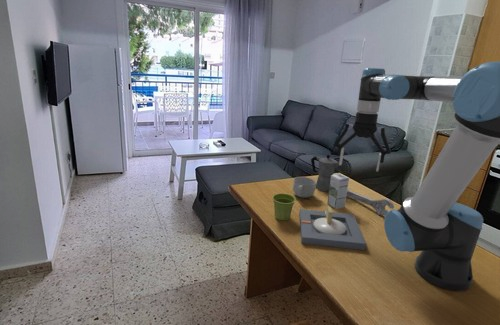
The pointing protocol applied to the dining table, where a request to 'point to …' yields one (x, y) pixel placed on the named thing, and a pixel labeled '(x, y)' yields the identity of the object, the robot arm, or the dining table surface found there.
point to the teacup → (304, 187)
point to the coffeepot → (324, 171)
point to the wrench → (372, 202)
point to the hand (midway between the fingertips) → (358, 167)
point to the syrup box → (338, 191)
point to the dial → (329, 224)
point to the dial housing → (347, 240)
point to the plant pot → (283, 205)
